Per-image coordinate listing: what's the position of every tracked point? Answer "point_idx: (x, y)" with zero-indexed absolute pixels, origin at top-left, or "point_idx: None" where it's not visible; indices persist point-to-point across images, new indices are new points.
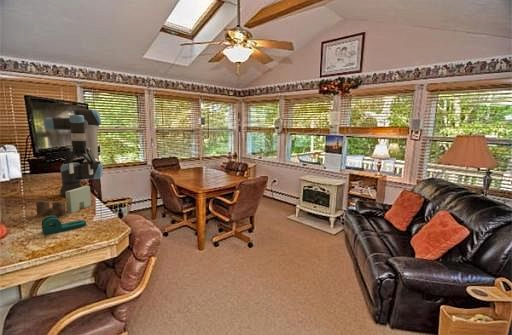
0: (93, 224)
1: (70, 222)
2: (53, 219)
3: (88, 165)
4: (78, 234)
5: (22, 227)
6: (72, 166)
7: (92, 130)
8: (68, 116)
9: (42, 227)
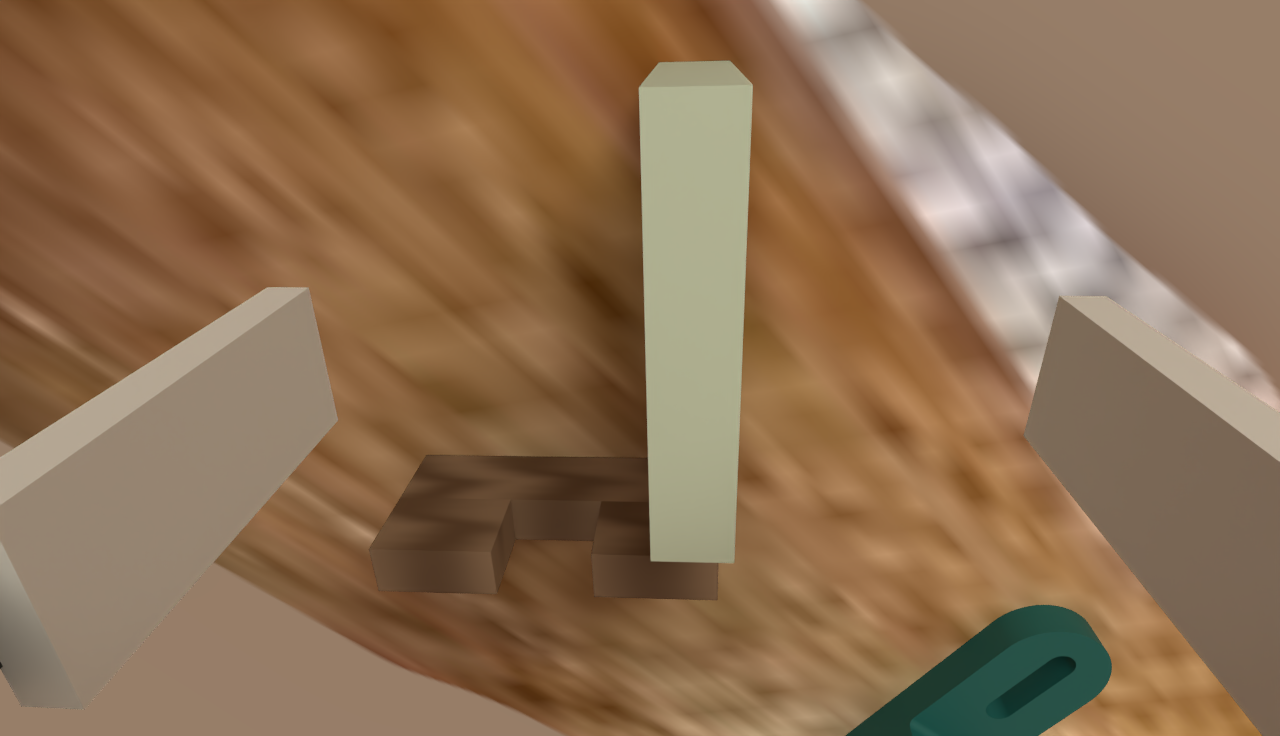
0: (1148, 607)
1: (976, 682)
2: None
3: (1259, 716)
4: None
5: (613, 709)
6: (161, 454)
7: None
8: None
9: None
